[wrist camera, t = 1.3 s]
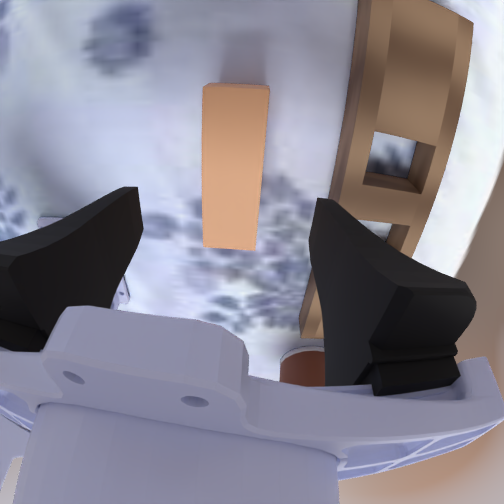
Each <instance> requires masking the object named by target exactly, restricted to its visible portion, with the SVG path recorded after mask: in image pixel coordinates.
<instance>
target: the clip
mask: <svg viewBox="0 0 504 504" xmlns="http://www.w3.org/2000/svg"><path fill="white" fill-rule="evenodd" d="M269 93H270V89H269V86H265V85H252V84H233V83H209V84H207V85H205V86H204V87H203V99H202V219H203V247H211V248H225V249H239V250H254V251H255V246H256V235H257V225H258V214H259V203H260V192H261V181H262V170H263V159H264V148H265V137H266V126H267V115H268V104H269Z"/></svg>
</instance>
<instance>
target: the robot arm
mask: <svg viewBox="0 0 504 504" xmlns="http://www.w3.org/2000/svg"><path fill="white" fill-rule="evenodd" d="M37 224H38V227H39V229H37V230H35V231H32V232H30V233H27V234H24V235H21V236H18V237H15V238H12V239H8V240H5V241H1V242H0V490H1V488H2V485H3V482H4V480H5V477H6V475H7V472H8V470H9V468H10V465H11V463H12V460H13V459H14V458H17V457H23V460H22V464H21V468H20V473H19V476H18V481H17V485H16V490H15V495H14V500H13V504H339V488H338V480H344V479H350V478H356V477H361V476H366V475H370V474H375V473H379V472H383V471H387V470H391V469H395V468H399V467H403V466H406V465H409V464H413V463H416V462H419V461H423V460H426V459H429V458H432V457H435V456H438V455H441V454H444V453H447V452H450V451H453V450H456V449H459V448H461V447H464V446H466V445H467V444H469V443H470V442H472V441H474V440H475V439H477V438H478V437H480V436H482V435H483V434H484V433H486V432H487V431H489V430H490V429H492V428H493V427H495V426H496V425H498V424H499V423H500V422H502V421H503V420H504V402H503V399H502V396H501V394H500V391H499V388H498V385H497V382H496V380H495V377H494V375H493V372H492V370H491V367H490V365H489V362H488V360H487V358H486V357H478V358H473V359H467V360H464V361H461V362H460V363H458V364H456V361H455V359H454V356H455V355H456V354H457V352H458V350H457V348H456V345H455V342H456V341H457V340H458V338H459V337H460V336H461V335H462V333H463V332H464V331H465V329H466V328H467V327H468V325H469V324H470V322H471V321H472V318H473V317H474V314H475V311H476V300H475V298H474V296H473V294H472V293H471V291H470V289H469V288H468V286H467V284H466V283H465V282H463V281H461V280H458V279H456V278H453V277H450V276H448V275H445V274H442V273H440V272H438V271H436V270H434V269H431V268H429V267H427V266H425V265H423V264H421V263H419V262H417V261H415V260H414V259H412V258H410V257H408V256H407V255H405V254H403V253H401V252H400V251H398V250H397V249H395V248H394V247H392V246H391V245H389V244H388V243H386V242H385V241H383V240H382V239H380V238H379V237H378V236H376V235H375V234H374V233H373V232H371V231H370V230H369V229H367V228H366V227H365V226H364V225H363V224H361V223H360V222H359V221H358V220H357V219H356V218H354V217H353V216H352V215H351V214H350V213H349V212H348V211H346V210H345V209H344V208H343V207H342V206H341V205H339V204H338V203H337V202H336V201H334V200H332V199H325V198H317V202H316V207H315V212H314V217H313V222H312V227H311V231H310V236H309V251H310V261H311V265H312V270H313V274H314V279H315V283H316V287H317V292H318V296H319V301H320V306H321V312H322V322H323V334H324V353H325V387H305V386H299V385H293V384H288V383H283V382H278V381H273V380H268V379H264V378H259V377H255V376H250V375H248V366H249V355H248V352H247V349H246V347H245V344H244V342H243V340H241V339H240V338H238V337H237V336H235V335H234V334H232V333H231V332H229V331H228V330H226V329H225V328H223V327H222V326H219V325H215V324H211V323H207V322H204V321H200V320H196V319H186V318H176V317H167V316H159V315H151V314H143V313H135V312H128V311H121V310H117V308H118V306H119V304H120V303H122V304H128V303H129V300H130V299H129V295H128V292H127V288H126V285H125V281H124V278H123V276H124V274H125V272H126V269H127V267H128V265H129V263H130V261H131V259H132V257H133V255H134V253H135V251H136V249H137V247H138V244H139V241H140V238H141V235H142V232H143V229H144V228H143V222H142V215H141V208H140V201H139V193H138V187H122V188H119V189H117V190H115V191H113V192H111V193H109V194H107V195H105V196H103V197H102V198H100V199H98V200H96V201H94V202H93V203H91V204H89V205H87V206H85V207H84V208H82V209H80V210H78V211H76V212H74V213H73V214H71V215H69V216H67V217H65V218H51V217H40V218H39V219H38V220H37Z"/></svg>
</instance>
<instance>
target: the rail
mask: <svg viewBox="0 0 504 504" xmlns="http://www.w3.org/2000/svg"><path fill="white" fill-rule="evenodd" d="M473 24H474V23H473V22H471V21H470V20H468V19H466V18H464V17H462V16H460V15H459V14H457V13H455V12H453V11H451V10H449V9H447V8H445V7H443V6H440V5H438V4H436V3H434V2H432V1H429V0H358V11H357V21H356V31H355V40H354V48H353V56H352V64H351V71H350V79H349V86H348V92H347V99H346V105H345V111H344V118H343V123H342V129H341V135H340V141H339V146H338V151H337V157H336V162H335V167H334V172H333V177H332V182H331V187H330V192H329V197H328V199H332V200H334V201H336V202H337V203H338V204H339V205H341V206H342V207H343V208H344V209H345V210H346V211H348V212H349V213H350V214H351V215H352V216H353V217H354V218H356V219H358V220H367V221H375V222H384V223H392V227H391V230H390V233H389V235H388V238H387V241H386V243H388V244H389V245H391V246H392V247H394V248H395V249H397V250H398V251H400V252H401V253H403V254H405V255H407V256H408V257H410V258H412V256H413V253H414V251H415V249H416V246H417V244H418V242H419V239H420V237H421V234H422V232H423V230H424V227H425V224H426V222H427V219H428V217H429V214H430V212H431V209H432V206H433V203H434V201H435V198H436V195H437V192H438V189H439V186H440V183H441V180H442V177H443V174H444V171H445V168H446V164H447V161H448V158H449V154H450V151H451V147H452V144H453V140H454V136H455V132H456V128H457V124H458V120H459V116H460V111H461V107H462V102H463V97H464V92H465V87H466V81H467V75H468V69H469V62H470V55H471V46H472V36H473ZM374 131H376V132H381V133H385V134H390V135H394V136H399V137H403V138H407V139H411V140H415V141H417V145H416V149H415V153H414V156H413V160H412V164H411V167H410V171H409V174H408V178H407V179H406V178H401V177H395V176H390V175H384V174H378V173H372V172H366V167H367V163H368V158H369V154H370V149H371V145H372V140H373V136H374ZM299 324H300V334H301V338H314V339H324V334H323V322H322V312H321V306H320V301H319V296H318V292H317V287H316V283H315V279H314V274H313V270H311V274H310V278H309V282H308V285H307V289H306V293H305V297H304V300H303V304H302V308H301V311H300V315H299Z"/></svg>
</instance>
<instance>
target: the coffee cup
mask: <svg viewBox="0 0 504 504" xmlns="http://www.w3.org/2000/svg"><path fill="white" fill-rule="evenodd" d="M279 382H283V383H288V384H293V385H299V386H305V387H325V353H324V347H319V346H304V347H300V348H296V349H293V350H291V351H289V352H287V353H286V354H284V356H283V357H282V358H281V359H280V381H279Z"/></svg>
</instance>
